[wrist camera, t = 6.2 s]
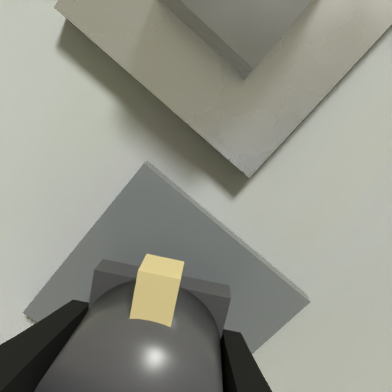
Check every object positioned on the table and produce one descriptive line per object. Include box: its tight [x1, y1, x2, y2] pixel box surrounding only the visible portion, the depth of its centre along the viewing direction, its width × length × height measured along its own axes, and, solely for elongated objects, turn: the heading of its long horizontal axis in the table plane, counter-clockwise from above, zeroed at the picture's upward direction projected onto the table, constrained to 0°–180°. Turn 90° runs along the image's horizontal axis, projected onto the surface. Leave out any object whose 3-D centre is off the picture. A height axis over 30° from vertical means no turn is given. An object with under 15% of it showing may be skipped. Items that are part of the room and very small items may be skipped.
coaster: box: [23, 161, 310, 354], centre depth 12 cm, size 8×8×1 cm
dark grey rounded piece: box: [34, 254, 231, 392], centre depth 9 cm, size 6×4×4 cm
